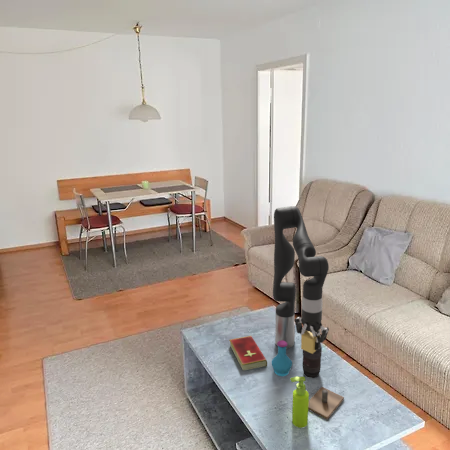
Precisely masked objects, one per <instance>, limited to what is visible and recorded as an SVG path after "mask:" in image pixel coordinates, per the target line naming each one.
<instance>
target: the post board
mask: <svg viewBox="0 0 450 450" xmlns="http://www.w3.org/2000/svg"><path fill="white" fill-rule="evenodd" d="M344 400H345V396H343V395H340V394H338V393H336V392H334V391H332V390H330V389H328V388H326V387H323V386H321V387H320V388H319V389H318V390H317V391H316V392H315V393H314V394H313V396H311V397H310V399H309V404H308V411H310V412H311V413H314V414H315V415H318V416H319V417H322V418H323V419H325V420H329V418H330V417H331V416H332V415H333V413H335V411H336V410H337V409H338V407H339V406H340V405H341V404H342V402H343V401H344Z"/></svg>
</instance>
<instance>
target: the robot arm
mask: <svg viewBox="0 0 450 450" xmlns="http://www.w3.org/2000/svg"><path fill="white" fill-rule="evenodd" d="M273 228H274V230H273V231H274V250H273V251H274V252H273V284H272V296H273V300H274V301H275V302H282V303H280V304H278V305H277V306H276V307H275V327H274V328H275V329H274V331H275V332H274V333H275V336H274V337H275V339H274V340H275V342H274V344H275V346H277V347H278V345H277V342H279V341H281V340H283V341H285V342H287V347H286V349H291V348H293V347H294V345H295V337H296V334H295V333H297V334H299V335H300V338H302V335H303V334H305V332H307V331H310V332H311V333H312V334H313V337H314V338H315V350H316V351H317V350H318V349H319V348H320V344H321V343H323V342H325V341H326V340H327V335H328V333H329V331H330V329H329V327H325V326H323V324H322V320H323V288H324V284H325V280H326V278H327V275H328V272H329V261H328V259H327V258H326V257H325V256H322V255H321V256H320V255H317V256H316V254H317V251H316V249H315V246H314V245H313V242H312V241H311V238H310V236H309V234H308V231H307V229H306V225H305V221H304V219H303V216H302V213H301V211H300V209H299V207H297V206H296V205H295V206H294V205H292V206H283V207H277V208H276V209H275V210H274V213H273ZM293 228H294V229H295V228H296V231H295V233H294V235H293V238H292V244H291V243H290V241H289V240H288V239H287V238H286V236H285V235H284V230H287V229H293ZM295 255H296V256H297V259H298V269H299V270H298V271H299V273H300V274H301V276H303V277H306V278H310V277H312V278H310V279H307V280H305V281H304V282H303V285H302V299H301V316H297V317H295V316H296V315H295V312H296V311H295V310H296V308H295V307H296V306H295V305H296V295H297V288H296V284H295V282H290V281H289V282H288V281H287V282H286V281H283V279H284V277H286V275H287V274H288V273H289V272H291V270H292V269H293V267H294V265H295ZM282 281H283V282H282ZM321 345H322V344H321Z"/></svg>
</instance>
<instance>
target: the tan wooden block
mask: <svg viewBox="0 0 450 450" xmlns="http://www.w3.org/2000/svg"><path fill="white" fill-rule="evenodd" d="M300 338H301V337H300ZM300 341H301V342H300V343H301V344H300V345H301V346H300V349H301V350H302V351H303V350H305V351H307V352H309V353H312V354H313V353H314V352H315V351H316V350H315V338H314V337H313V334H312V333H311V332H310V331H307V332H305V334H303V335H302V338H301V340H300Z"/></svg>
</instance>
